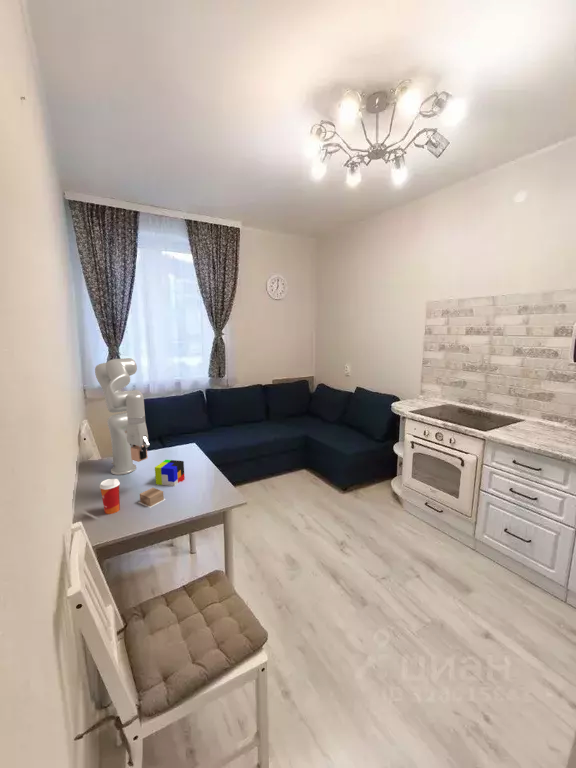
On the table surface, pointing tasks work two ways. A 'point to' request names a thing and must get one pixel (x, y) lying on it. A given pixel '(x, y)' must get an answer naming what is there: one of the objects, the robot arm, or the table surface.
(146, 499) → the base block
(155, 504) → the build mat
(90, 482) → the table surface
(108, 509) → the paper cup
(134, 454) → the top block
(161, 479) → the puzzle toy
